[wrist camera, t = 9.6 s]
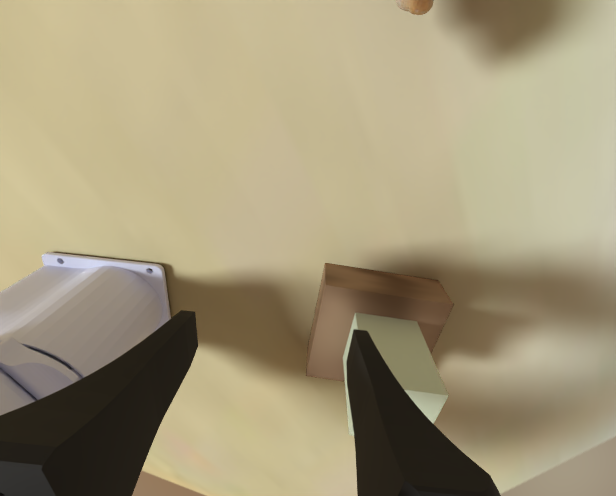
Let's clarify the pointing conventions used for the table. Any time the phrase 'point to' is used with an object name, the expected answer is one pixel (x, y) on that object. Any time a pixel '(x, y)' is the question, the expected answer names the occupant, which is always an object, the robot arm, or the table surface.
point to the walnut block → (369, 311)
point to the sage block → (402, 361)
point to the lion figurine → (415, 6)
